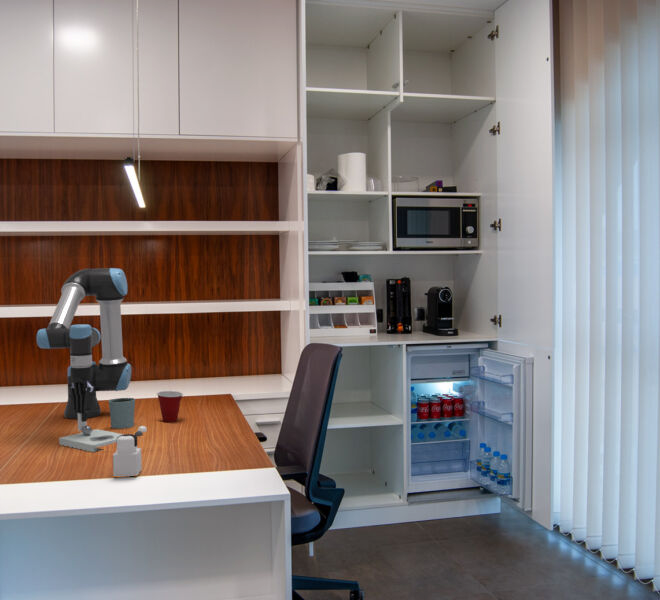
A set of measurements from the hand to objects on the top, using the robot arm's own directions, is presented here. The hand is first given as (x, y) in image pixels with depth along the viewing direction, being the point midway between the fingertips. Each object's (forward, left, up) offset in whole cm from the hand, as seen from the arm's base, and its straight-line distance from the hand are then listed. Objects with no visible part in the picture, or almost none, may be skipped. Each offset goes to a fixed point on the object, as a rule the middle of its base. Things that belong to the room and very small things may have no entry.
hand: (82, 430), depth 244 cm
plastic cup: (+1, +41, -4) cm, 42 cm away
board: (+7, 0, -4) cm, 8 cm away
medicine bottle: (+48, -18, -4) cm, 51 cm away
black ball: (+15, +13, -3) cm, 20 cm away
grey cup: (-3, +20, -4) cm, 21 cm away
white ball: (+11, +18, -2) cm, 22 cm away
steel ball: (+2, 0, 0) cm, 2 cm away
